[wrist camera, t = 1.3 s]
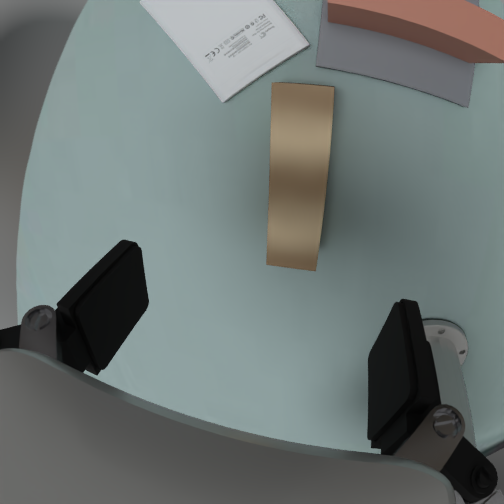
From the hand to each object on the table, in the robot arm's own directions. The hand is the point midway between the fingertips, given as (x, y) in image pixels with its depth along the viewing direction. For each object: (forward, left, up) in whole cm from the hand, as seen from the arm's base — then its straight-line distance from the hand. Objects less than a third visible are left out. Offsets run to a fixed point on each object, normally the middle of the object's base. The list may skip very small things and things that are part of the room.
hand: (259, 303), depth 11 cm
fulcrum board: (+13, -6, -16) cm, 22 cm away
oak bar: (0, 0, -17) cm, 17 cm away
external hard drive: (+12, +8, -17) cm, 22 cm away
